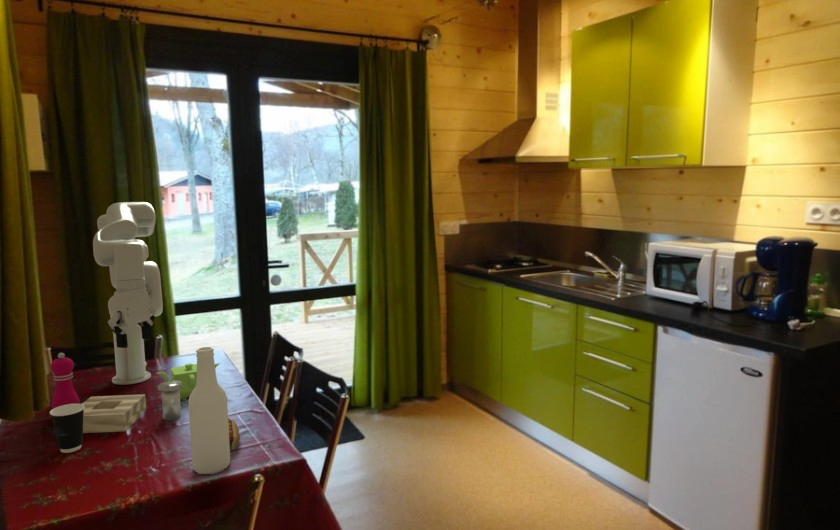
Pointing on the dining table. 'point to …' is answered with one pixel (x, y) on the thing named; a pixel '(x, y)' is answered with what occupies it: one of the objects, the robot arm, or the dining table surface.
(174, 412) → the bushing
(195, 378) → the teapot
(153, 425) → the dining table surface
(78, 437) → the dixie cup
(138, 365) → the robot arm
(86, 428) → the block
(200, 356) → the alcohol
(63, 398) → the pepper mill
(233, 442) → the food
